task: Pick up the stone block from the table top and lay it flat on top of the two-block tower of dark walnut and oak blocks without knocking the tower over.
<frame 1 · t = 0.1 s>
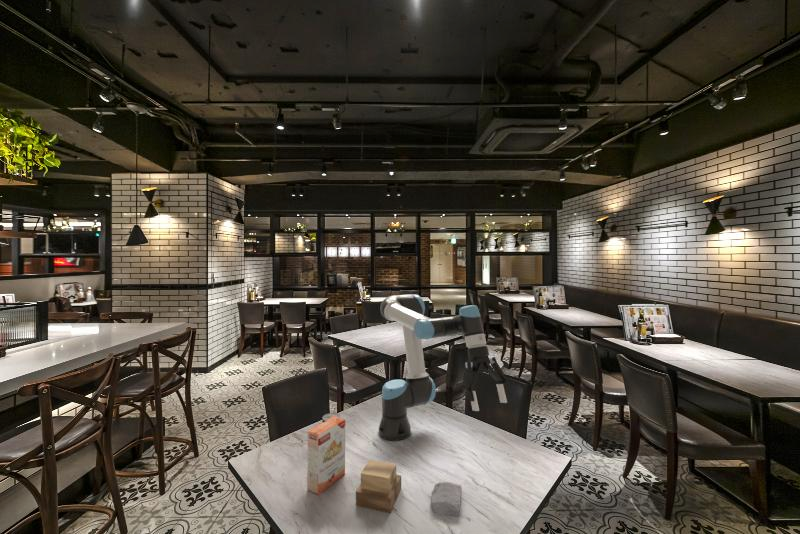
hand: (490, 406, 117), 28 cm above the table, tool tilted 20°, fingers open, 13 cm apart
stone block: (445, 503, 108), on the table
cracker box: (327, 482, 119), on the table
tower top block: (379, 483, 111), point 5 cm above the table
canned tomato: (331, 441, 146), on the table
tower base block: (379, 497, 111), on the table
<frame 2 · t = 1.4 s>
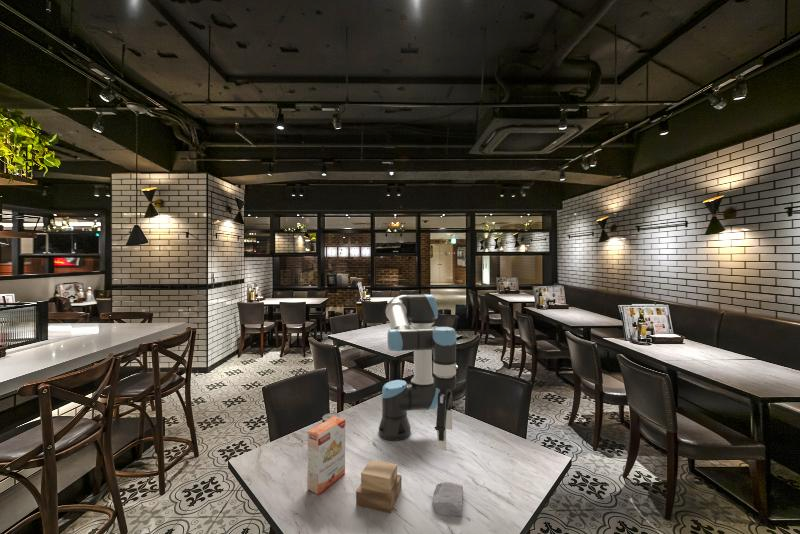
hand: (445, 438, 108), 21 cm above the table, tool pointing down, fingers open, 13 cm apart
tower top block: (379, 483, 111), point 5 cm above the table, touching tower base block
tower base block: (379, 497, 111), on the table, touching tower top block
everything else where it was.
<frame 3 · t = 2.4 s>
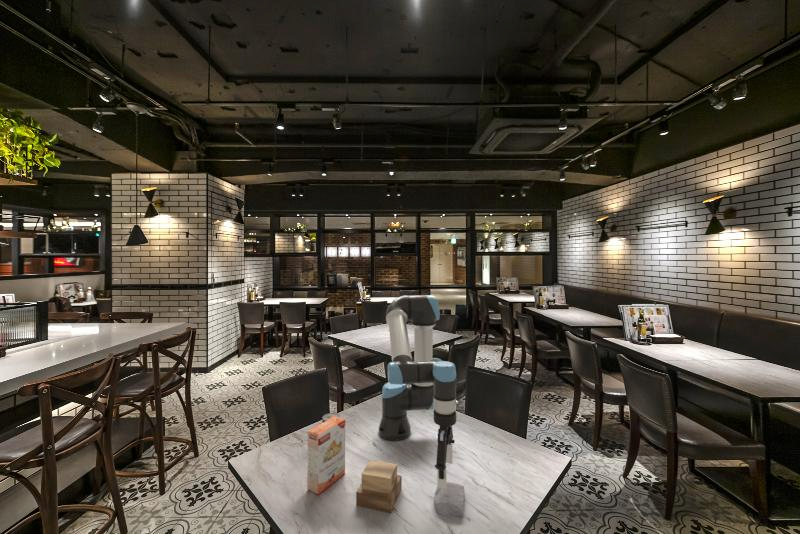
hand: (445, 474, 108), 9 cm above the table, tool pointing down, fingers open, 13 cm apart
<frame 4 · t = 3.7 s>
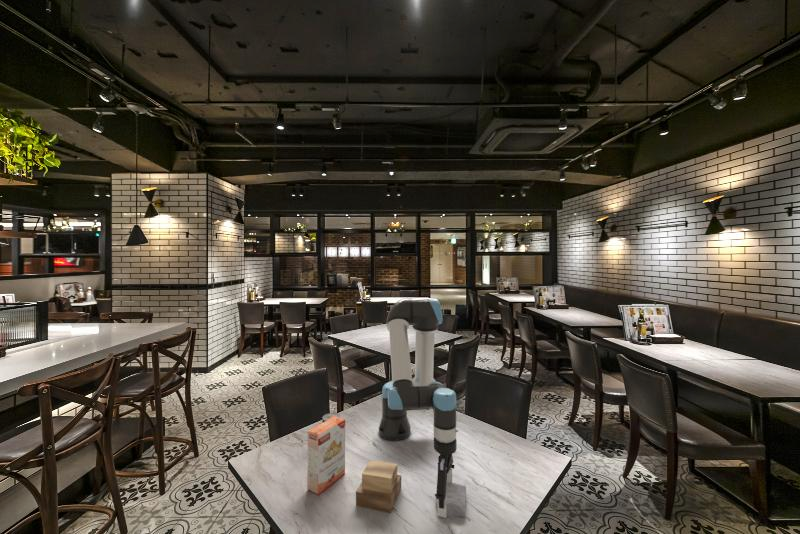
hand: (445, 501, 108), 0 cm above the table, tool pointing down, fingers open, 13 cm apart
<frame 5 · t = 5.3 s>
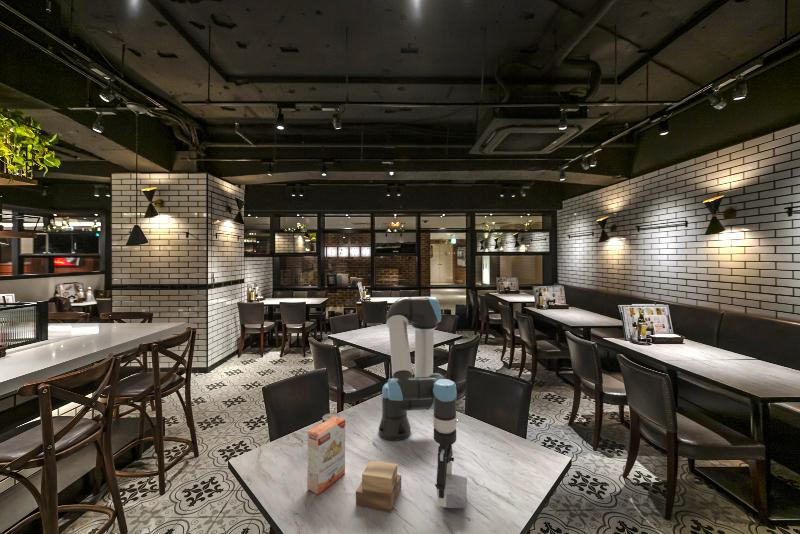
hand: (445, 492, 109), 3 cm above the table, tool pointing down, fingers closed on stone block, 12 cm apart
stone block: (451, 495, 108), point 2 cm above the table, touching gripper
tower top block: (380, 483, 111), point 5 cm above the table
tower base block: (379, 497, 111), on the table
everything else where it was.
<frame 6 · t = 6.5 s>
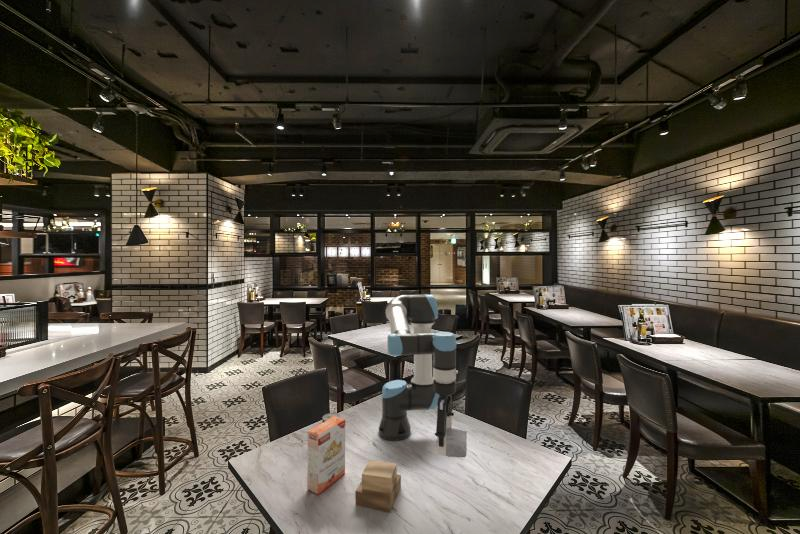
hand: (444, 444, 109), 19 cm above the table, tool pointing down, fingers closed on stone block, 12 cm apart
stone block: (451, 447, 108), point 18 cm above the table, touching gripper
tower top block: (379, 483, 111), point 5 cm above the table, touching tower base block
tower base block: (379, 497, 111), on the table, touching tower top block
everything else where it was.
when the fingers open (11 cm above the table, at t = 11.8 s): stone block drops 1 cm, resting on tower top block.
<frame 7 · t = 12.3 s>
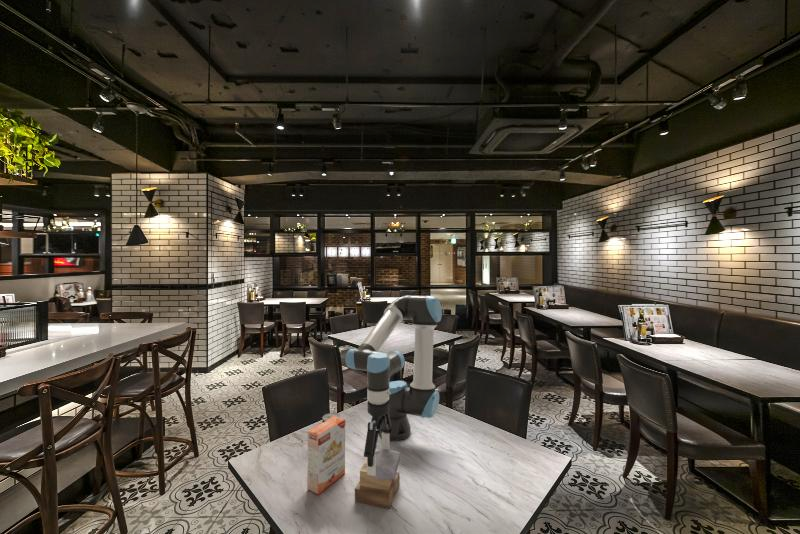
hand: (379, 462, 111), 12 cm above the table, tool pointing down, fingers open, 13 cm apart
stone block: (383, 468, 111), point 9 cm above the table, touching gripper, tower top block
tower top block: (377, 480, 113), point 5 cm above the table, touching stone block, tower base block
tower base block: (378, 494, 113), on the table, touching tower top block
everything else where it was.
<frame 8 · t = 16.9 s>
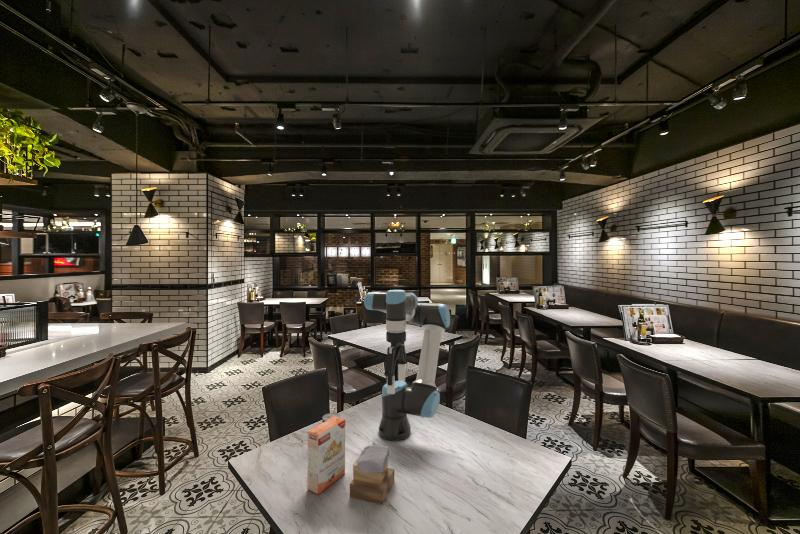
hand: (396, 386, 124), 33 cm above the table, tool pointing down, fingers open, 13 cm apart
stone block: (372, 463, 114), point 9 cm above the table, touching tower top block
tower top block: (370, 474, 116), point 5 cm above the table, touching stone block, tower base block
tower base block: (372, 490, 115), on the table, touching tower top block
everything else where it was.
at the end: stone block 1.6 cm off-centre on the tower top block, point 4.8 cm above the tower top block's base; tower top block 1.2 cm off-centre on the tower base block, point 5.0 cm above the tower base block's base; stone block tilted 0° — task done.
